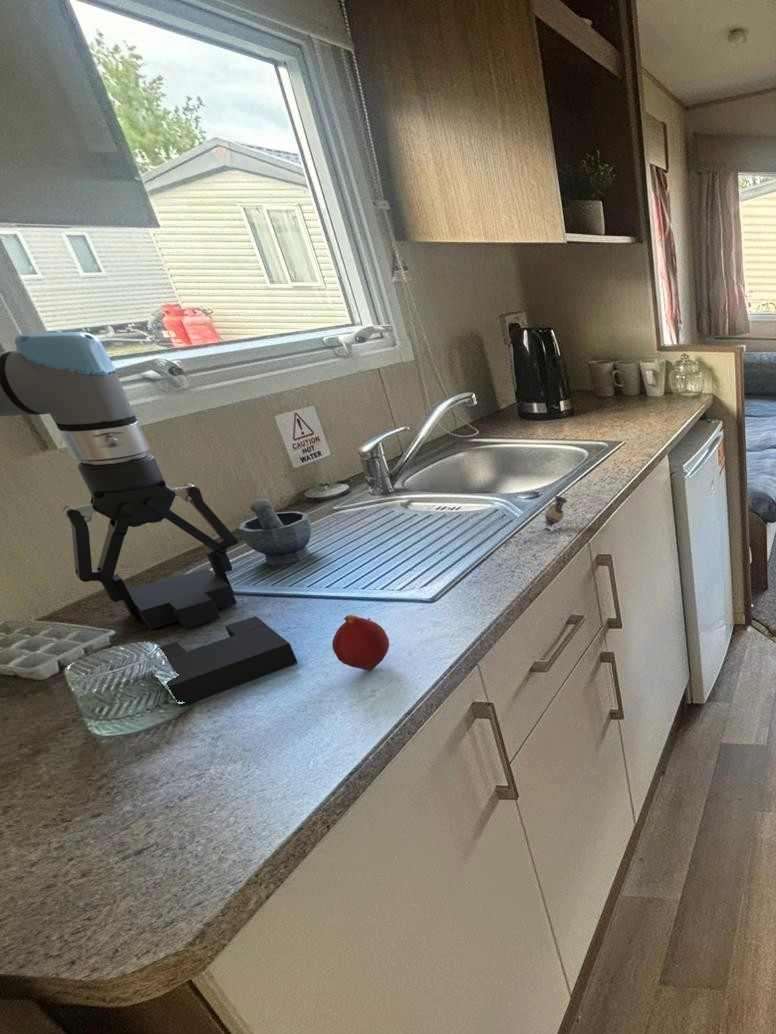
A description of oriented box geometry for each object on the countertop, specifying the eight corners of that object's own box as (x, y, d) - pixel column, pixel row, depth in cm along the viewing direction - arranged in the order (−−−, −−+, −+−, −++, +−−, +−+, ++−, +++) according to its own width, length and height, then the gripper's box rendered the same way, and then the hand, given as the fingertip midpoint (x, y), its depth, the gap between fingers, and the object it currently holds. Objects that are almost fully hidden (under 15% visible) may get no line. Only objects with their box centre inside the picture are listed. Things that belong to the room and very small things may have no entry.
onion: (362, 656, 86) (343, 602, 83) (405, 657, 86) (388, 603, 83) (333, 681, 81) (311, 625, 78) (378, 682, 81) (358, 626, 78)
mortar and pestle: (259, 553, 116) (232, 488, 111) (321, 543, 121) (299, 480, 115) (250, 577, 108) (220, 507, 102) (318, 565, 112) (293, 498, 106)
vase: (565, 520, 132) (560, 491, 129) (577, 527, 128) (572, 498, 126) (539, 526, 129) (533, 497, 126) (550, 534, 125) (545, 504, 122)
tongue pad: (131, 608, 97) (122, 590, 96) (215, 585, 104) (207, 568, 103) (158, 637, 90) (148, 618, 88) (245, 610, 97) (237, 592, 95)
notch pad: (152, 672, 83) (141, 652, 81) (263, 634, 91) (255, 615, 90) (180, 707, 76) (169, 686, 75) (297, 662, 85) (289, 643, 84)
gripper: (-7, 482, 77) (85, 643, 88) (227, 445, 94) (282, 585, 104) (-16, 470, 81) (73, 626, 92) (210, 437, 98) (264, 573, 108)
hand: (184, 604), depth 98 cm, fingers closed on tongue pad, 10 cm apart
